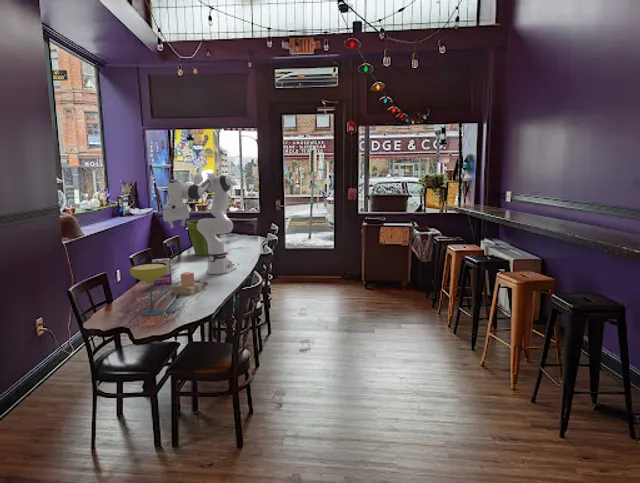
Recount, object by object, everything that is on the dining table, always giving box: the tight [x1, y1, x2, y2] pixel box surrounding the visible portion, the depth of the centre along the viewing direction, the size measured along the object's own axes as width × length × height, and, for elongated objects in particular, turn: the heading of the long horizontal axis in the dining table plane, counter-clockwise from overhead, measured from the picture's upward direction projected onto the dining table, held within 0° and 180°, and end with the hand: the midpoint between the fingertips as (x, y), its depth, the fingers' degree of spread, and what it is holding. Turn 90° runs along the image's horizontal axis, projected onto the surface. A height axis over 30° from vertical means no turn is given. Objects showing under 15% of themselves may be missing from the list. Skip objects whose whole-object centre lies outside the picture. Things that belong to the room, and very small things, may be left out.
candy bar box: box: [151, 257, 173, 286], centre depth 293 cm, size 11×5×16 cm, turn 105°
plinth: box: [170, 281, 206, 297], centre depth 275 cm, size 14×14×4 cm
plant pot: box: [186, 219, 221, 257], centre depth 390 cm, size 30×30×29 cm
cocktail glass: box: [129, 261, 167, 317], centre depth 234 cm, size 18×18×25 cm
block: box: [179, 271, 195, 286], centre depth 274 cm, size 6×6×7 cm
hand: (177, 226), depth 289 cm, fingers open, 8 cm apart
